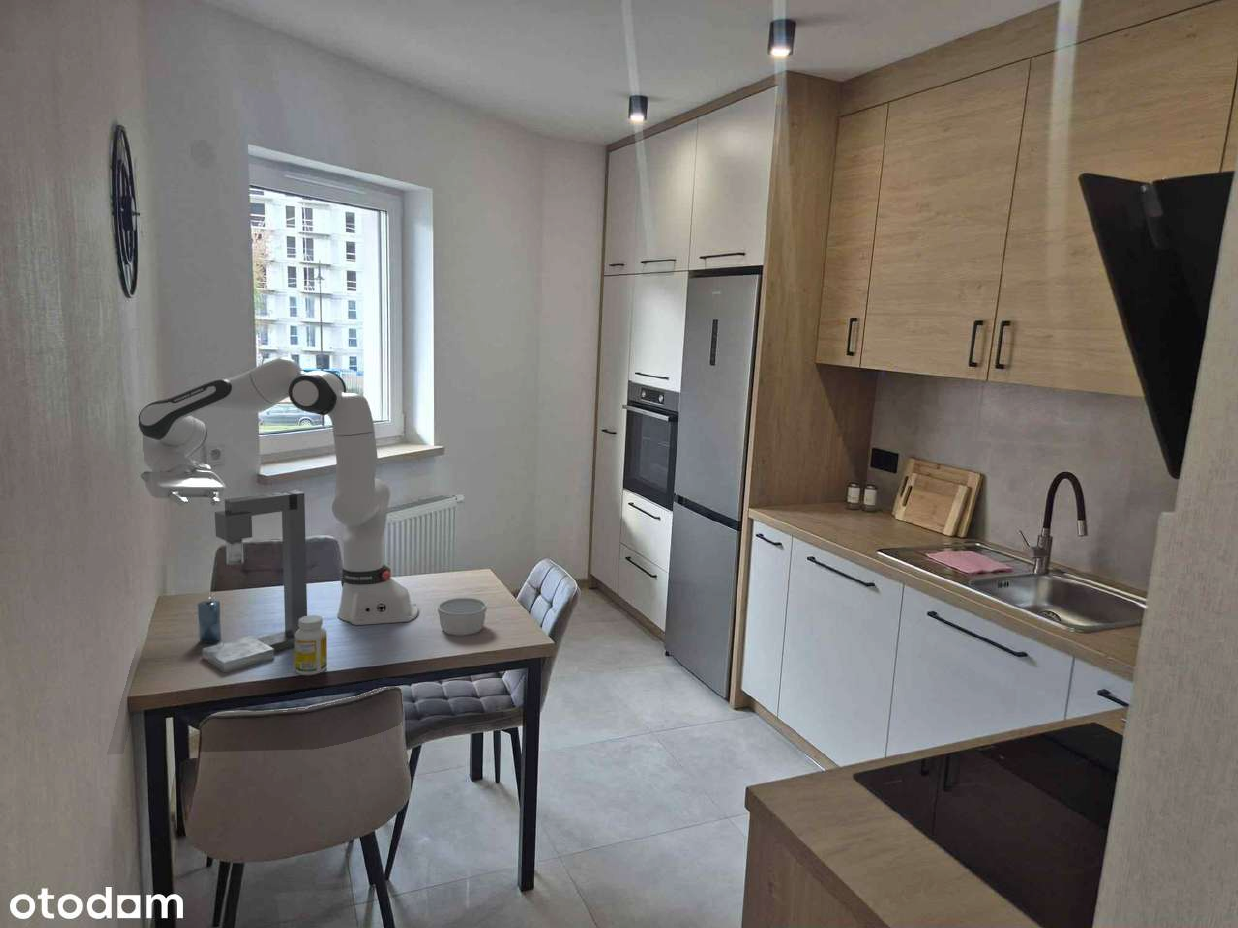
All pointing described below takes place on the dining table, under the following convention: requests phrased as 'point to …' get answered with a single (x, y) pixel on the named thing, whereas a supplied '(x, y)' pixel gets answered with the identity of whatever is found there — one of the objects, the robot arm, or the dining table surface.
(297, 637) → the supplement bottle
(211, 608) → the blue bottle with knob
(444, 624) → the ramekin
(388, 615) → the robot arm
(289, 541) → the press
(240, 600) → the dining table surface
